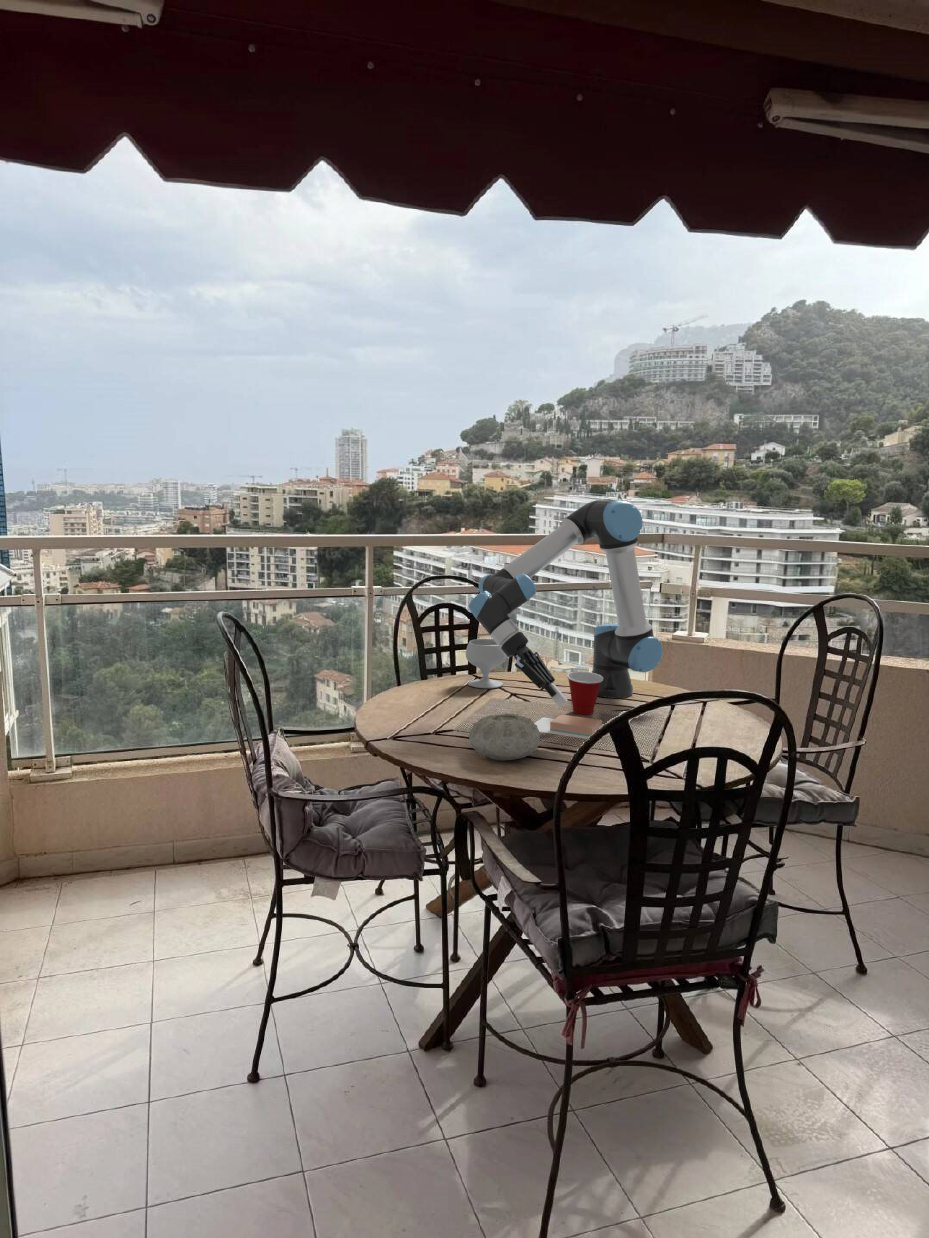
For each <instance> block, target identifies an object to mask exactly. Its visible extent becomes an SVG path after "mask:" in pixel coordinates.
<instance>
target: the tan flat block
mask: <svg viewBox="0 0 929 1238" xmlns="http://www.w3.org/2000/svg"><path fill="white" fill-rule="evenodd" d="M553 719H554V720H552V721H551V722H550V730H551V731H557V732H564V733H570V734H577V735H584V736H590V735H592V734H593V733H594V732H595V730H597V729H598V728H599V727H600V726H601V725H602V726H603V719H599V718H597V719H596V718H589V717H582V716H576V715H569V714H563V713H562V714H559V715H558V716H557V717H555V718H553Z"/></svg>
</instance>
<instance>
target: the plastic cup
mask: <svg viewBox="0 0 929 1238" xmlns="http://www.w3.org/2000/svg"><path fill="white" fill-rule="evenodd" d="M566 678H567V679H568V684H569V691H570V692H569V693H570V701H571V705H572V713H574V714H575V715H580V716H590V715H593V714H594V711H595V706H596V703H597V699H598V696H597V695H598V690H599V687H600V685H601V682H602V681H603V677H602V676H601V675H598V674H596V673H592V671H591V672H589V671H584V670H583V671H571V672H568V673H567V675H566Z"/></svg>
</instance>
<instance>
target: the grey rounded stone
mask: <svg viewBox="0 0 929 1238" xmlns="http://www.w3.org/2000/svg"><path fill="white" fill-rule="evenodd" d="M534 723H535V722H534V721H533V720H532V719H531V718H528V717H525V716H522V715H519V714H518V713H516V714H514V713H506V712H505V713H502V714H494V715H493V714H490V715H487V716H484V717H482V718H480V719H479V720H478V721H477V722H476V723H475V722H474V723H472V727H471V728H470V731H469V737H468V738H469V744H470V745H471V748H472V749H473V750H474V751H476V752H477V753H479V754H481V755H482V756H484V757H486V758H489V759H492V760H496V761H510V760H511V761H513V760H518V759H523V758H525V757H527V756H528V757H529V756H531V755H532V754H534V753H535V752H536V751H537V749H538V747H539V746H540V745H539V743H540V741H541V740H540V739H541V734H540V733H541V732H539V730H538V728H537V725H535V724H534Z"/></svg>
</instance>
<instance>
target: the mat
mask: <svg viewBox="0 0 929 1238" xmlns="http://www.w3.org/2000/svg"><path fill="white" fill-rule="evenodd" d="M554 719H555V718H549V717H543V716H542V717H541V718H539V719H538V720H537V721H535V722H533V723H534V724H535V725H537V728H538V730H539V733H546V734H552V735H553V734H554V735H559V736H566V737H571V738H577V739H578V738H579V739H586V740H588V739H587V738H588V737H589V736H584V735H577V734H570V733H564V732H557V731H551V730H550V722H551V721H552V720H554Z"/></svg>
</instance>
